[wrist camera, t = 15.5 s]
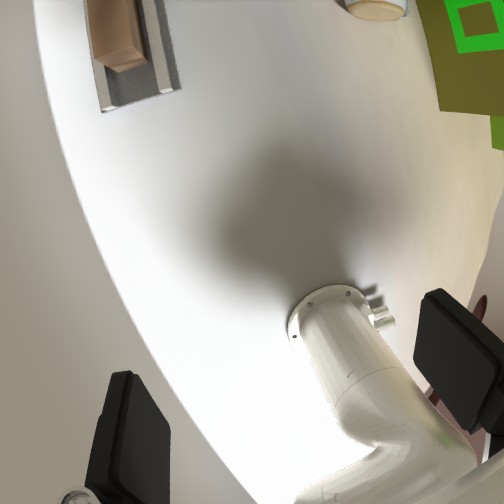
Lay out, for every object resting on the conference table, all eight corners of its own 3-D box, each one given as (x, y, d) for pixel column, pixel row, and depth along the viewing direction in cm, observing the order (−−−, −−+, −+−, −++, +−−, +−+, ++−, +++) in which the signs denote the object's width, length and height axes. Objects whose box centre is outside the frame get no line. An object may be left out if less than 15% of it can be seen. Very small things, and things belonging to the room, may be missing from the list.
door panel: (134, -23, 22) (119, -54, 15) (149, 62, 27) (132, 45, 20) (105, -13, 22) (83, -41, 15) (118, 72, 27) (94, 59, 20)
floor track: (154, -49, 22) (151, -62, 19) (181, 89, 30) (179, 85, 27) (83, -25, 21) (74, -36, 18) (104, 113, 30) (94, 112, 26)
